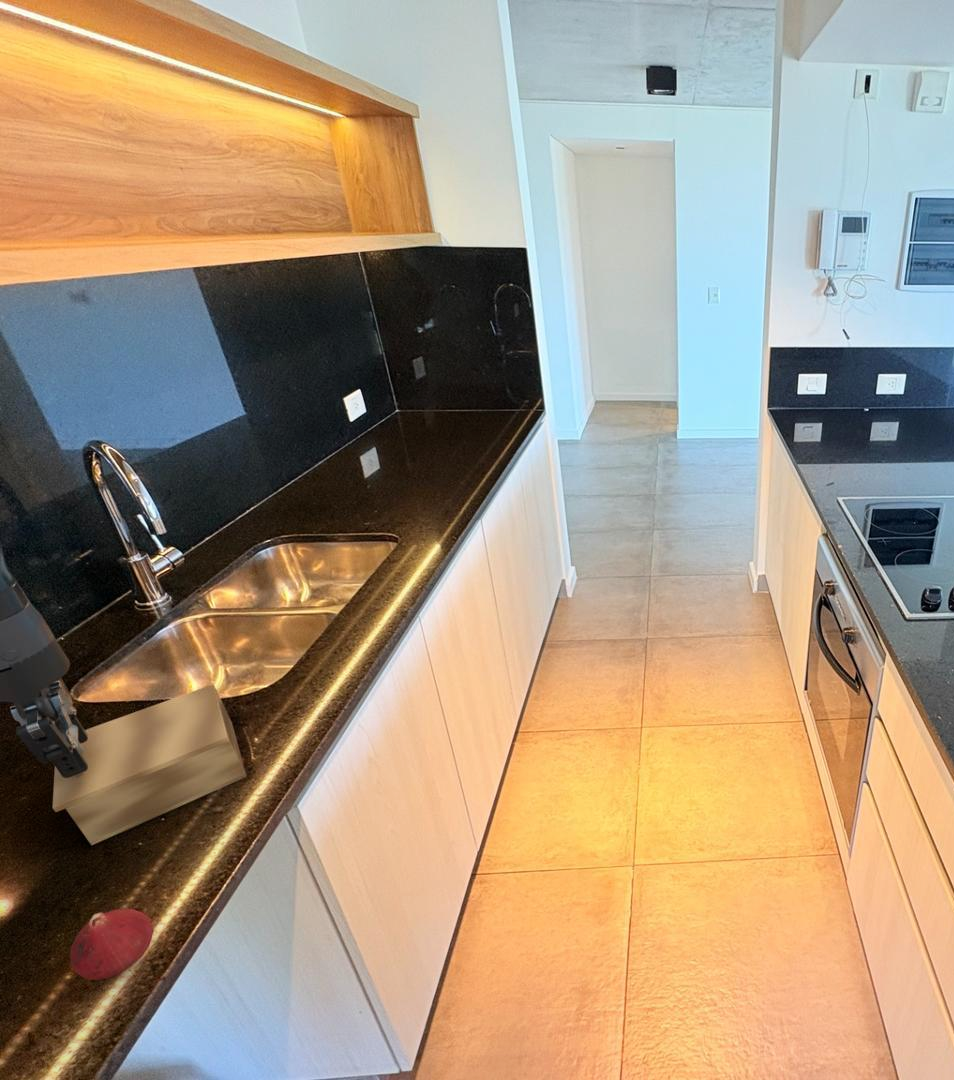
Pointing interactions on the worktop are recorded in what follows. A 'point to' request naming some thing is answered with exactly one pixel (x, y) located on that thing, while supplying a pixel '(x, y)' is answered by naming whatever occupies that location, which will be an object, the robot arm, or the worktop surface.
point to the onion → (110, 943)
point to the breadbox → (160, 790)
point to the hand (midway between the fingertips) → (76, 757)
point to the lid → (142, 744)
